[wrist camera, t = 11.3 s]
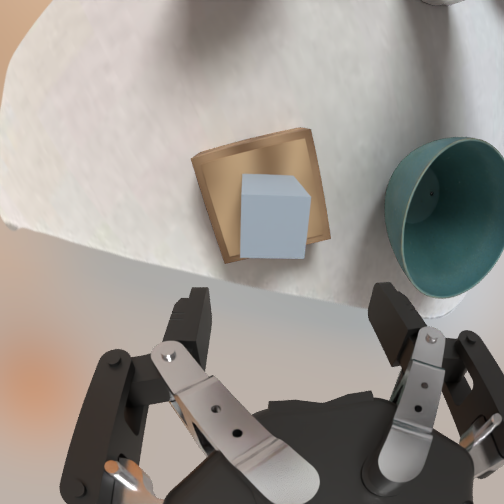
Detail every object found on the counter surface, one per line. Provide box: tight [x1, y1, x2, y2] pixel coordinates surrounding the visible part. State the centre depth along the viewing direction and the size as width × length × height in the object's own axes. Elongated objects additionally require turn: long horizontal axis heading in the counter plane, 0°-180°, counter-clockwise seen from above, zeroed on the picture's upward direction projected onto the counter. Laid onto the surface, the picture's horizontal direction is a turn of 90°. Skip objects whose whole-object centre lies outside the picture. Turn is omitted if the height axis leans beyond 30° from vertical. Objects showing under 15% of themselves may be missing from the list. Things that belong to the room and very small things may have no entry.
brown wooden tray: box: [191, 128, 331, 264], centre depth 31 cm, size 12×12×6 cm
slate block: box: [240, 174, 311, 259], centre depth 25 cm, size 5×5×8 cm
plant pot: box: [385, 137, 504, 299], centre depth 28 cm, size 18×18×12 cm
